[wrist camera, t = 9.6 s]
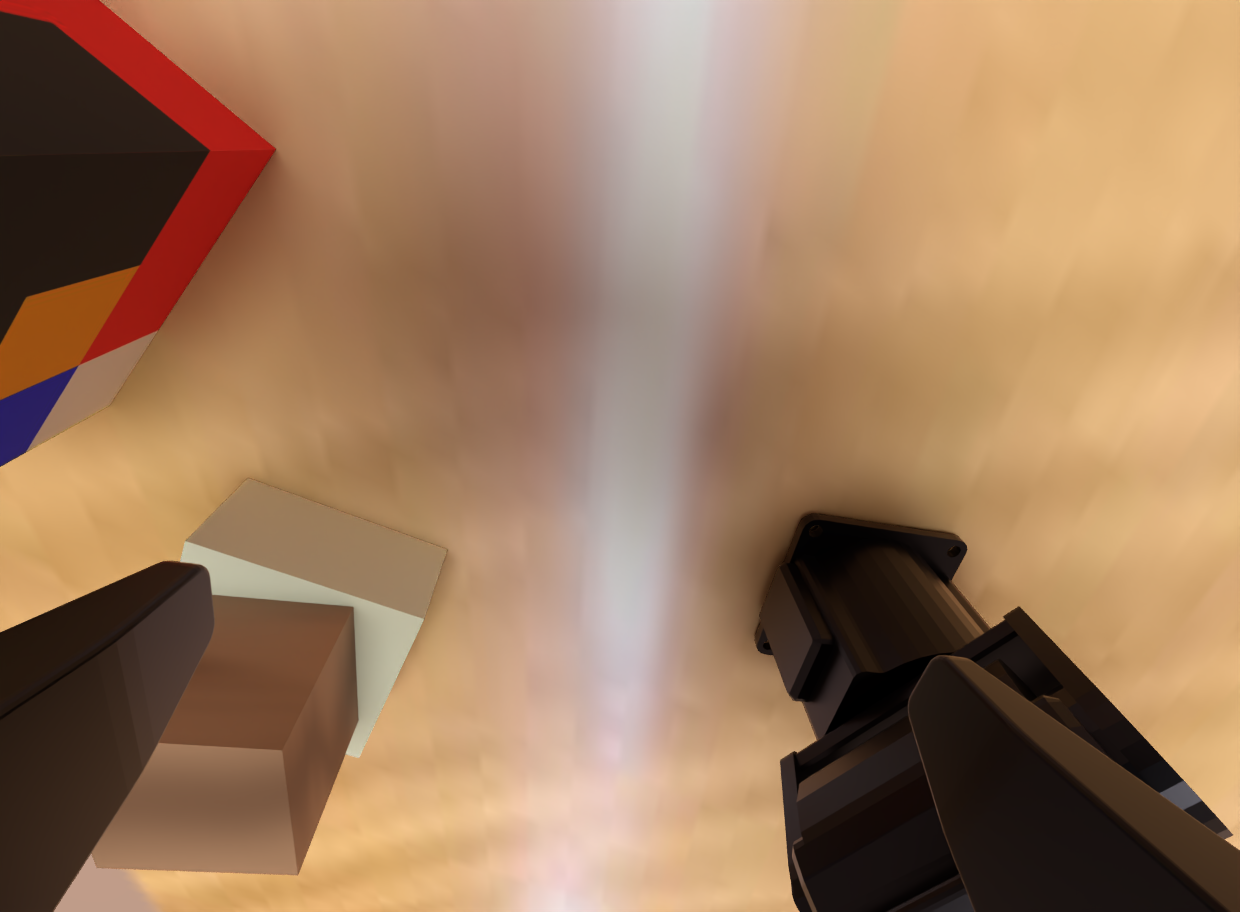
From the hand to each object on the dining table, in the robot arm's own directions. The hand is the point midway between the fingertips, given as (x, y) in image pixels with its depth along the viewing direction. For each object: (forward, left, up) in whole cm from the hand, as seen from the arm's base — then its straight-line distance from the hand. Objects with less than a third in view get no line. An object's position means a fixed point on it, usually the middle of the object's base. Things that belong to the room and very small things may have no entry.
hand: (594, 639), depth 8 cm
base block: (+8, +11, -13) cm, 19 cm away
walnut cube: (+8, +11, -9) cm, 17 cm away
